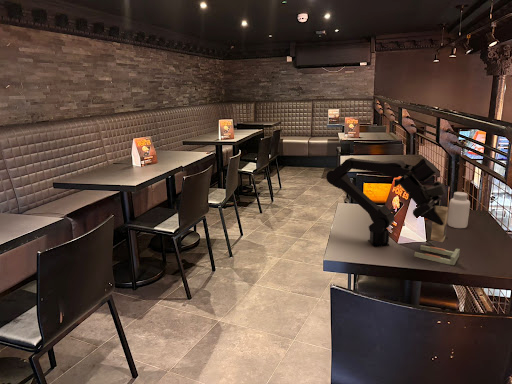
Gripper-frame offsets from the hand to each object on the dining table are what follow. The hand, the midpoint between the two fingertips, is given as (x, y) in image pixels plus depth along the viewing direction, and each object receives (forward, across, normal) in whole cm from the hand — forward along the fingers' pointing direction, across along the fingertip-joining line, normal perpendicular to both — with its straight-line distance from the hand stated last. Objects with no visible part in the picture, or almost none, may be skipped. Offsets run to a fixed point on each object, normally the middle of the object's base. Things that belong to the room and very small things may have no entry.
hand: (443, 222), depth 132 cm
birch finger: (+4, 0, +6) cm, 7 cm away
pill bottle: (+9, +38, +10) cm, 40 cm away
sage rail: (+8, -1, +10) cm, 13 cm away
